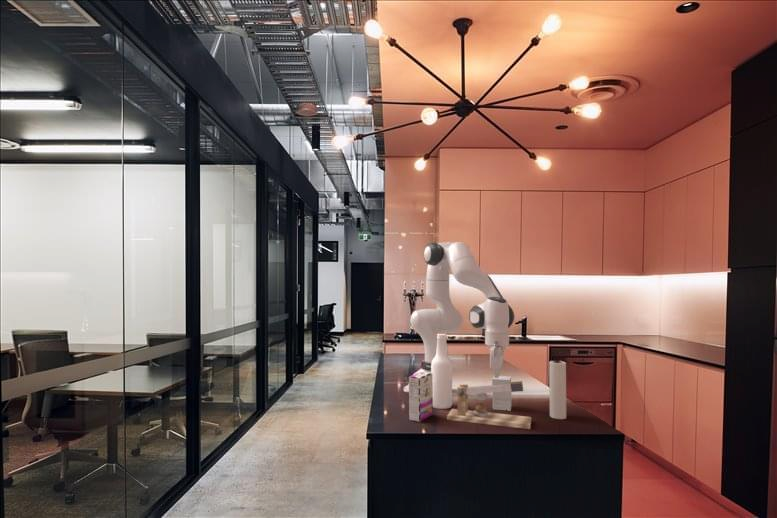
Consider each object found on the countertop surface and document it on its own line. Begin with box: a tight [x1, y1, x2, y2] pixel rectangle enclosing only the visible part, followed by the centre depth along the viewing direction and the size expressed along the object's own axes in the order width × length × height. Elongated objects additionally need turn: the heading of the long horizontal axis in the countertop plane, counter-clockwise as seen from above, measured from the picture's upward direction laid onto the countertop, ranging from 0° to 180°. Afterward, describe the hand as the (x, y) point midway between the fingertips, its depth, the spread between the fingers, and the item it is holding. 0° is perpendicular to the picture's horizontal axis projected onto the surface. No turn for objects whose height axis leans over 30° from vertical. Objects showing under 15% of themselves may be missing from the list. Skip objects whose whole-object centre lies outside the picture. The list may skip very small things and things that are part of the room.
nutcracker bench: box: [446, 383, 532, 430], centre depth 170 cm, size 30×10×12 cm, turn 70°
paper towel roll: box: [548, 360, 567, 420], centre depth 175 cm, size 7×6×21 cm
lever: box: [466, 380, 524, 401], centre depth 170 cm, size 24×4×5 cm, turn 71°
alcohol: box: [431, 333, 453, 410], centre depth 189 cm, size 9×9×30 cm
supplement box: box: [491, 375, 513, 412], centre depth 187 cm, size 7×7×13 cm
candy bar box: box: [408, 372, 434, 423], centre depth 173 cm, size 11×5×16 cm, turn 148°
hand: (496, 377), depth 170 cm, fingers closed
